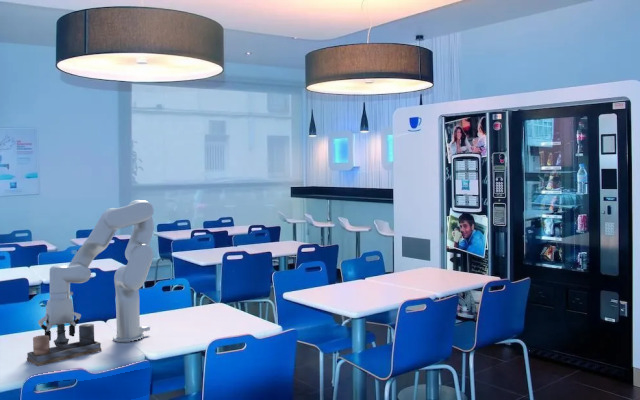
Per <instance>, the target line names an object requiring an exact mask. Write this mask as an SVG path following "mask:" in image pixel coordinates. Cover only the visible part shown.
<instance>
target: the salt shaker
mask: <svg viewBox="0 0 640 400" xmlns="http://www.w3.org/2000/svg"><path fill="white" fill-rule="evenodd" d="M56 327H57V328H56V329H57V330H56V333H57V336H56V339H54V340H53V344H54V346H55V347H56V346H61V345H65V344H69V341H70V339H69V338H67V337H66V331H67V330H66V328H65V327H66V326H65V324H60V325H56Z"/></svg>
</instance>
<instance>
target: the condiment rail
mask: <svg viewBox="0 0 640 400" xmlns="http://www.w3.org/2000/svg"><path fill="white" fill-rule="evenodd" d="M94 325H95V324H93V323H84V324H80V325H78V335H79V336H78V339H79V341H75V342H70V343H68V344H65V345H61V346H56V345H55V346H52V347H51V345H50V341H49V336H48V335H45V334H44V335H42V334H40V335H36V336H33V337H32V341H33V342H32V345H33V347H32V349H33V350H32V351H29V352H27V357H26V362H29V363H31V364H34V365H35V366H37V367H39V366H43V365H50V364H53V363H57V362H62V361H65V360H69V359H74V358H78V357H82V356H86V355H90V354H95V353H99V352H98V351H100V352H102V347H101V342H99V341H96V340H95V326H94Z"/></svg>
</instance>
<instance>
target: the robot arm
mask: <svg viewBox="0 0 640 400" xmlns="http://www.w3.org/2000/svg"><path fill="white" fill-rule="evenodd" d="M154 211H155V210H154V207H153V204H151V203H150V202H149V201H147V200H142V199H141V200H140V199H135V200H132V201H130V202H129V203H128V205H125V206H121V207H118V208H117V207H116V208H115V207H111V208H109V207H108V208H107V209H105V210H104V211H103V213H102V214H101V215H100V218H99V219H98V220H97V222H96V224H95V225H94V228H93V229H92V231H91V232H90V234H89V236H88V237H87V238H86V240H85V241H84V242H83V243H82V245H81V246H80V247H79V249H78V250H77V251H76V253H75V254H74V256H73V257H72V259H71V261H70V263H69V264H68V265H66V264H65V265H63V264H61V265H59V264H58V265H53V266H50V268H49V299H47V301H46V307H45V313H44V314H45V315H44V316H43V317H42V318H40V319H39V320H38V321H37V323H38V326H40V327H39V328H41V329H42V330H43V331H44V335H48V336H49V342H51V340H52V332H51V329H52V328H53V326H57V325H60V324H66V325H67V324H69V326H68V335H69V336H71V337H75V334H76V327H77V324H79V322H80V319H81V318H82V317H81V316H82V314H81V313H78V312H75V311H74V306H73V305H74V304H73V300H72V298H71V296H73V295H74V292H73V291H71V284H83V283H86V282H88V281H89V280H90V279H91V275H92V271H91V269H90V268H89V267H90V265H91V263H92V262H93V260H94V259H95V258H96V257H97V256H98V255H99V254H101V253H102V252H103V251H105V250H106V249H107V248H108V246H109V245H110V243H111V241H112V239H113V237H114V236H115V235H116V233H117V231H118V230H121V229H125V228H129V227H131V226H133V227H132V231H131V234H130V237H129V240H128V243H127V245H126V248H125V251H124V256H125V260H126V261H127V264H125V265H121V266H119V267H118V268H117V269H116V271H115V273H114V276H113V277H114V278H113V282H114V289H115V311H116V312H115V313H116V314H115V315H116V317H115V319H116V320H115V321H116V334H115V335H113V337H112V341H114V342H118V343H131V342H130V341H132V342H135V341H134V340H137V341H139V340H138V339H140V340H142V339H143V338H144V332H149V331H150V330H151V327H150V326H149V325H147V326H141V324H140V323H141V322H140V291H139V289H141V288H142V287H143V285H144V283H146V279H147V276H148V274H149V271H150V268H151V265H152V262H153V258H154V251H153V249H152V247H151V246H150V243H151V241H152V237H153V233H154V228H155V223H154V218H153V215H154ZM44 323H45V324H44ZM141 338H142V339H141Z"/></svg>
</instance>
